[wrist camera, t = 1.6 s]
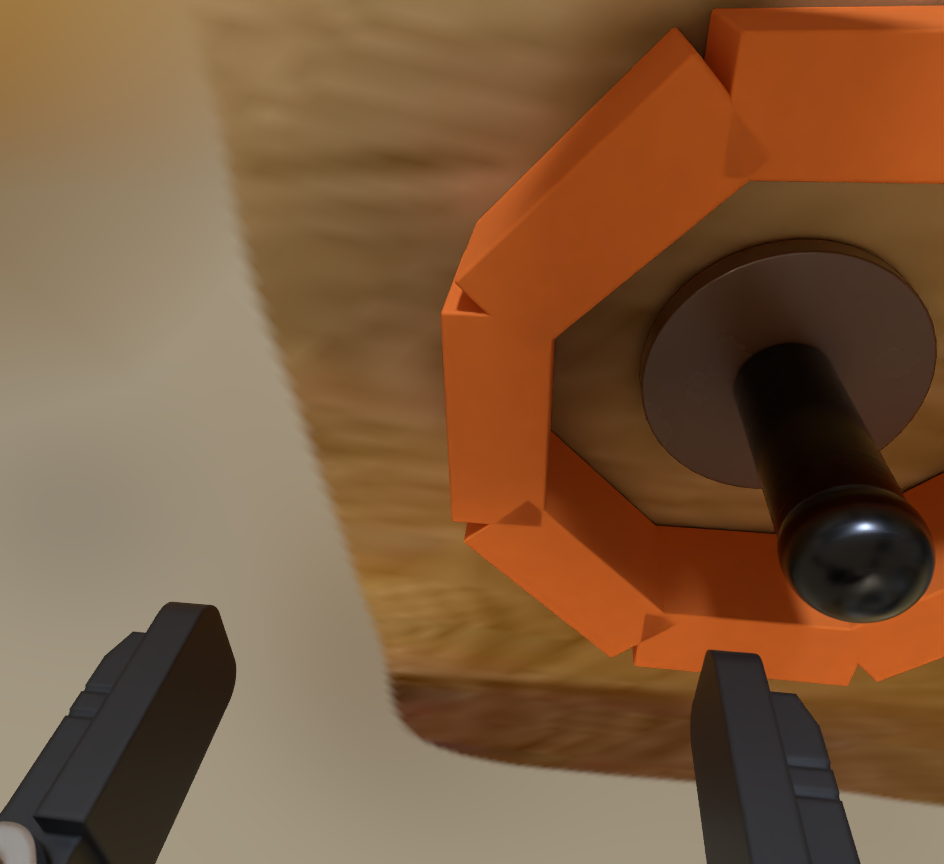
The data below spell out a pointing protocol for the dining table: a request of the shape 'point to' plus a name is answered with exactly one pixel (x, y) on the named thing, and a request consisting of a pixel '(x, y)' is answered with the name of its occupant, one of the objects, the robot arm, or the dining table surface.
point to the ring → (618, 258)
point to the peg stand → (804, 410)
